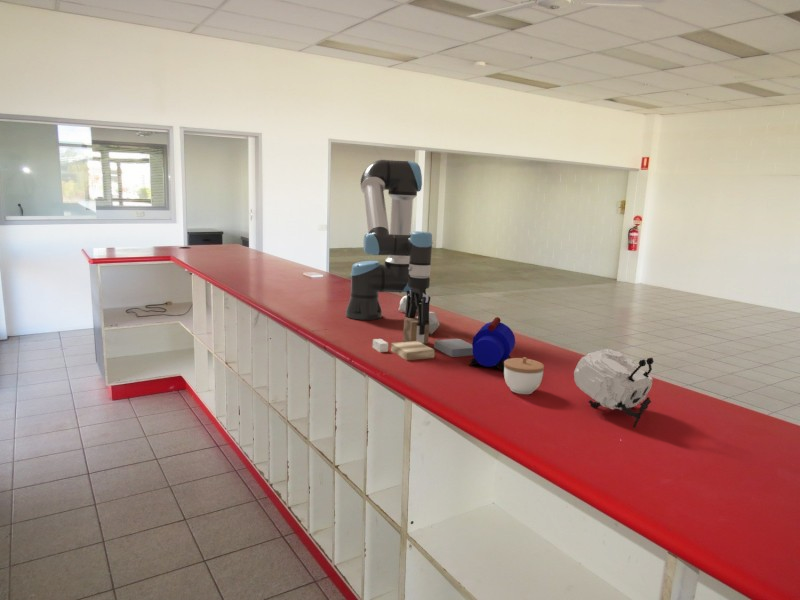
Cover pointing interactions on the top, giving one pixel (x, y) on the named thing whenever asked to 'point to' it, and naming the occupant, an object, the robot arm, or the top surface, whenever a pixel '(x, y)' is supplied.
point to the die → (433, 322)
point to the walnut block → (413, 330)
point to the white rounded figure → (403, 304)
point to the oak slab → (412, 350)
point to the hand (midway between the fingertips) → (415, 340)
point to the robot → (614, 381)
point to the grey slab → (454, 347)
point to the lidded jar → (523, 374)
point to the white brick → (380, 345)
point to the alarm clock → (493, 344)
